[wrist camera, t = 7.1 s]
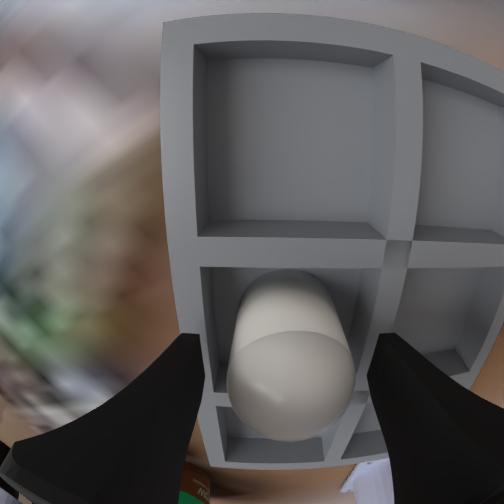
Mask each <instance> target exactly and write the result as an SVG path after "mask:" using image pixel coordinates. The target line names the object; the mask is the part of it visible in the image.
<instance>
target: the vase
mask: <svg viewBox="0 0 504 504" xmlns="http://www.w3.org/2000/svg"><path fill="white" fill-rule="evenodd" d="M9 451H10V448H9V447H8V446H6V445H5V444H4V443H3V442H1V441H0V467H1V465H2V463H3V461H4V460H5V458H6V456H7V454H8V453H9ZM0 488H2V489H3V490H5V491H6V492H7V493H9V494H10V495H11V496H13V497H14V498H15V499H17V500H18V497H19V492H18V491H16V490H15V489H14V488H13V487H11V486H10V485H9V484H8V483H7V482H6V481H4V480H3V479H2V478H1V477H0Z"/></svg>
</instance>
